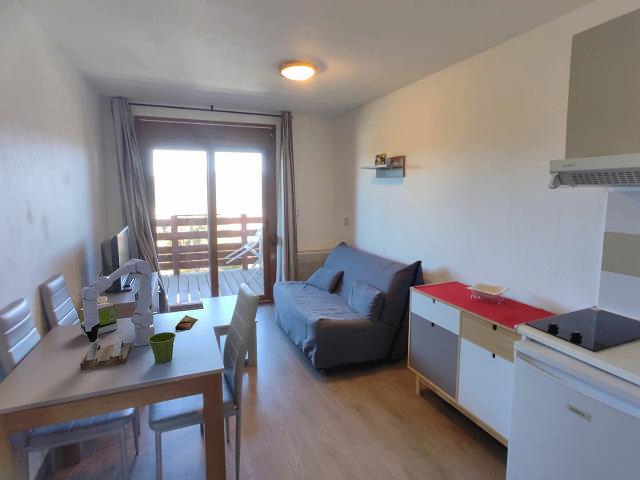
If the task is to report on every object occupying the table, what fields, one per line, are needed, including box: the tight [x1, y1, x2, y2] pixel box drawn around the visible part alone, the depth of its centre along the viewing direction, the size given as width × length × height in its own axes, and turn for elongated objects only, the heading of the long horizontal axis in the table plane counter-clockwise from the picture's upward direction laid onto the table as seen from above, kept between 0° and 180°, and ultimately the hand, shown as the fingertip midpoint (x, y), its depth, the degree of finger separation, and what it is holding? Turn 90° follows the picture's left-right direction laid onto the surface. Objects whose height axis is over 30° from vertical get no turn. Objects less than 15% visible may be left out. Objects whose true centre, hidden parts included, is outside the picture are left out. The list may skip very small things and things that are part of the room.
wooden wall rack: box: [79, 341, 133, 371], centre depth 170 cm, size 18×18×5 cm
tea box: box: [78, 301, 118, 337], centre depth 202 cm, size 15×10×15 cm, turn 144°
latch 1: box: [87, 337, 100, 361], centre depth 166 cm, size 3×13×1 cm, turn 20°
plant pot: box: [148, 331, 177, 364], centre depth 167 cm, size 12×12×11 cm
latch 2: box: [112, 334, 124, 358], centre depth 169 cm, size 3×13×1 cm, turn 20°
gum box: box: [134, 286, 154, 325], centre depth 207 cm, size 20×5×23 cm, turn 13°
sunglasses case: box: [174, 314, 199, 331], centre depth 213 cm, size 18×7×7 cm
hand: (93, 340), depth 167 cm, fingers open, 2 cm apart
